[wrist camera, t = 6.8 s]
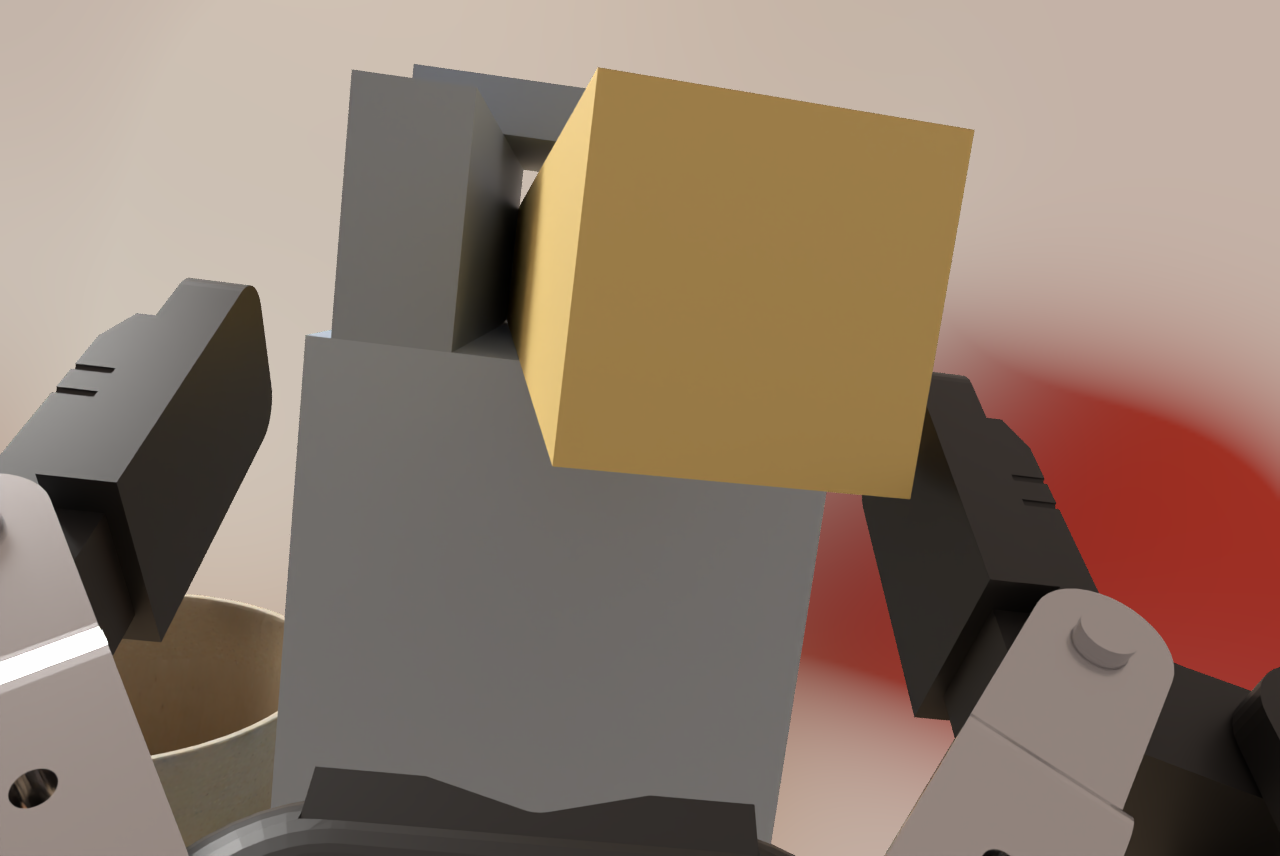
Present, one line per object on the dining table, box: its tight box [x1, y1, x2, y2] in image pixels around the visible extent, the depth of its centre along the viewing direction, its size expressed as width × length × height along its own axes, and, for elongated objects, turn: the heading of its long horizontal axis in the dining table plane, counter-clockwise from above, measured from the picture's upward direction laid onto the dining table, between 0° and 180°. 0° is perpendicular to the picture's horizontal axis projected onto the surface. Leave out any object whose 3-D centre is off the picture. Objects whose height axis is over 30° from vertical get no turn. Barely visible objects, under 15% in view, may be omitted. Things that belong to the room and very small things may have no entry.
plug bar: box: [507, 67, 974, 499], centre depth 21 cm, size 24×4×4 cm, turn 9°
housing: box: [271, 64, 826, 844], centre depth 28 cm, size 14×11×37 cm
